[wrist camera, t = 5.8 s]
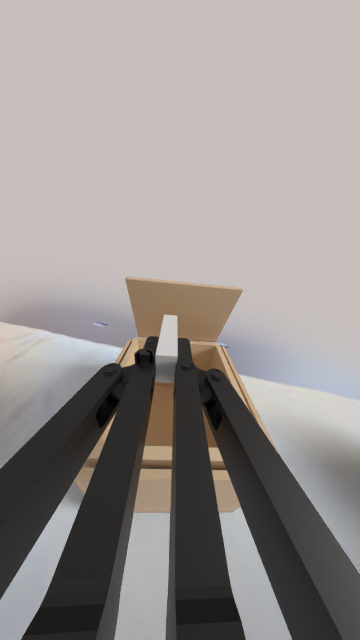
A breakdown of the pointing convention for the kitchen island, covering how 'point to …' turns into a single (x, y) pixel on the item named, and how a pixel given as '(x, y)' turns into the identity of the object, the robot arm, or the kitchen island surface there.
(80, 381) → the kitchen island surface
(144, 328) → the front flap
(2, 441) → the kitchen island surface
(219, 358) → the carton
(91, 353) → the kitchen island surface
